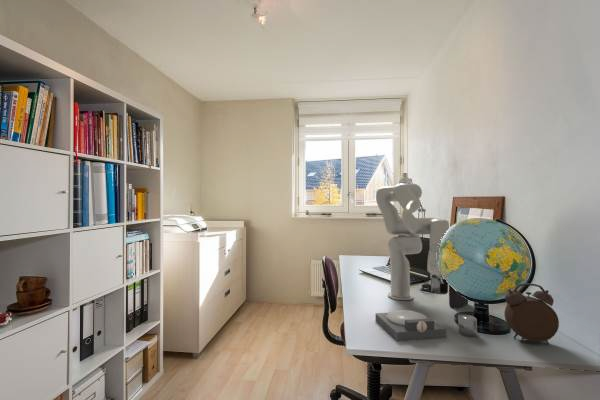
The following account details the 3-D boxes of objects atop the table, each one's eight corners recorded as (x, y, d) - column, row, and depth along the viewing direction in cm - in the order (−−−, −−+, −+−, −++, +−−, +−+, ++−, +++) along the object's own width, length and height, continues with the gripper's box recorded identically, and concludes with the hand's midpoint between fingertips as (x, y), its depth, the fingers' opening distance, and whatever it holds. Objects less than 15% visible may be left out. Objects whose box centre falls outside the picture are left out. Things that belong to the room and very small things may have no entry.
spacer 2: (454, 331, 111) (454, 315, 111) (469, 330, 112) (468, 314, 112) (465, 338, 105) (465, 321, 105) (481, 336, 106) (480, 320, 106)
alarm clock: (547, 338, 104) (545, 281, 105) (561, 348, 97) (559, 287, 98) (501, 335, 107) (500, 280, 108) (511, 344, 100) (510, 285, 100)
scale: (375, 320, 122) (375, 305, 122) (418, 317, 125) (417, 303, 125) (397, 341, 103) (397, 323, 103) (447, 337, 105) (446, 320, 106)
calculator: (460, 302, 145) (459, 271, 145) (469, 304, 141) (468, 273, 141) (448, 306, 139) (447, 274, 139) (457, 309, 135) (456, 276, 135)
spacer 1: (428, 290, 128) (428, 276, 128) (441, 289, 129) (441, 276, 129) (436, 294, 122) (436, 280, 122) (450, 294, 123) (450, 279, 123)
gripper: (419, 245, 133) (419, 284, 133) (443, 252, 116) (443, 297, 116) (435, 244, 134) (435, 284, 135) (460, 251, 117) (460, 296, 117)
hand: (439, 289), depth 125 cm, fingers closed on spacer 1, 6 cm apart
